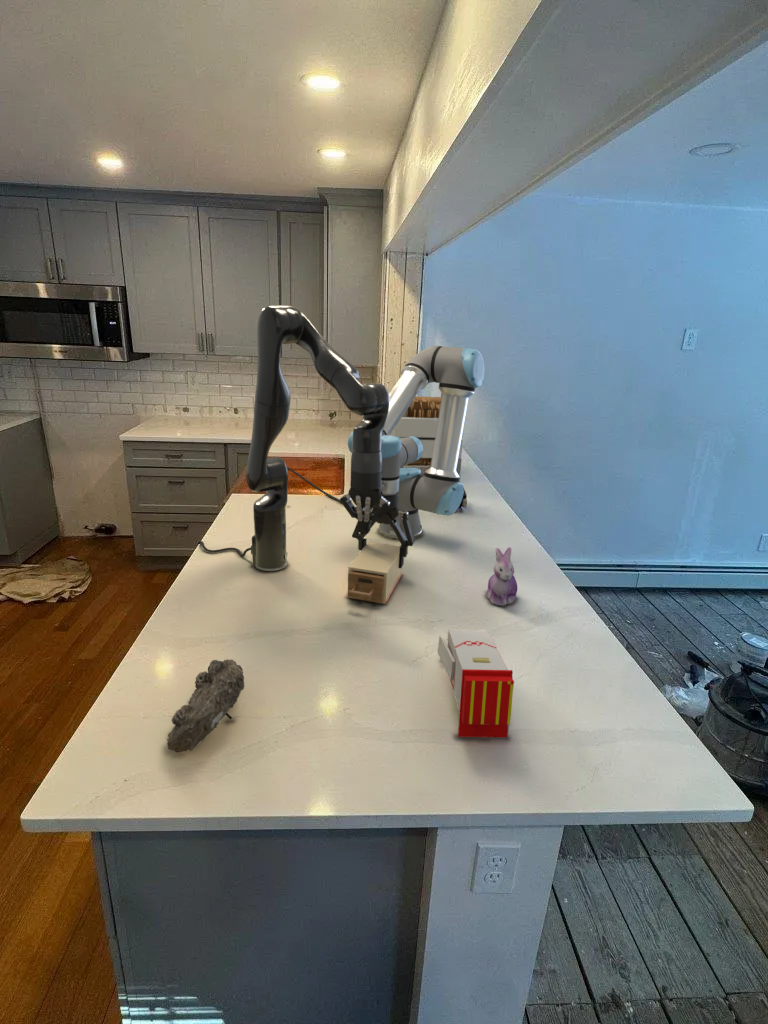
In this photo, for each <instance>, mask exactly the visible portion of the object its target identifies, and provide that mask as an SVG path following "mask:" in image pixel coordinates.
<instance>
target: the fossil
mask: <svg viewBox="0 0 768 1024" xmlns="http://www.w3.org/2000/svg"><path fill="white" fill-rule="evenodd" d="M243 670H244V669H243V667H242V665H240V664H237V662H236V661H235V660H234V659H232V658H231V659H227V658H226V659H224V660H223V661H222V660H217V659H212V660H211V661H210V663H209V665H208V666H207V671H201V672H199V673H198V674H197V675H196V676H195V680H194V684H195V685H194V687H195V689H194V690H193V693H192V694H191V697H190V698H189V700H188V704H184V705H182V706H181V707H180V709H177V710H176V711H175V713H174V715H173V716H172V718H171V723H172V724H173V727H172V730H171V731H170V732H168V734H167V738H166V741H167V742H166V745H167V749H168V750H169V751H173V752H174V753H176V754H178V753H182V752H188V751H189V752H192V751H193V750H195V748H196V747H197V746H199V744H200V743H201V742H203V741H204V740H205V739H206V738H207V737H208V736H209V735H210V734H211V733H212V732H214V730H215V729H217V727H218V726H219V724H220V722H221V721H222V720H223V719H224V718H225V716H226V717H227V719H229V720H233V717H232V715H230V714H229V710H230V709H231V708H234V706H235V704H236V703H237V702H238V699H239V697H240V695H241V693H242V691H243V690H245V689H244V688H245V675H244V671H243Z"/></svg>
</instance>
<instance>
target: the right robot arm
mask: <svg viewBox="0 0 768 1024" xmlns="http://www.w3.org/2000/svg"><path fill="white" fill-rule="evenodd" d="M485 371H486V370H485V361H484V358H483V355H482V353H481V352H480V351H479V350H477V349H474V348H468V347H456V346H441V345H433V346H429V347H426V348H424V349H422V350H421V351H419V352H418V353H416V354H415V355H414V356H412V357H411V358H410V359H408V361H407V362H406V363H405V364H404V366H403V368H402V369H401V371H400V377H399V379H398V380H397V381H396V383H395V384H394V386H393V387H392V388H391V390H390V391H389V392H388V393H389V397H390V406H389V411H388V415H387V419H386V423H385V426H384V429H383V432H382V478H381V491H382V493H383V497H384V498H385V499H386V500H389V501H390V502H391V503H390V505H389V506H388V507H387V508H386V509H385V510H384V512H383V513H382V514H381V515H380V516H379V517H378V518H377V519H376V520H375V521H373V520H372V521H371V527H370V530H372V528H373V527H374V525H375V524H376V523H377V524H379V525H378V533H379V534H380V535H381V536H382V537H385V538H387V539H389V540H395V541H399V542H400V544H401V545H400V554H399V568H402V569H403V567H404V561H405V558H407V556H408V553H409V547H413V546H414V544H415V542H416V540H415V539H418V538H420V537H421V536H422V535H423V525H422V524H421V518H420V515H419V510H420V511H424V512H429V513H432V514H436V515H437V516H439V515H441V516H445V517H448V516H449V517H450V516H452V515H453V514H454V513H456V511H457V510H458V507H459V505H460V503H461V501H462V498H463V494H464V490H465V487H464V484H463V483H462V482H461V481H460V482H459V478H460V479H461V475H460V476H459V475H458V473H457V471H456V468H457V463H458V457H459V451H460V445H461V440H462V439H463V438H462V434H463V435H464V432H463V428H464V429H465V421H466V415H467V410H468V404H469V399H470V397H472V396H473V395H474V394H475V390H476V389H478V388H480V387H481V386H482V385H483V382H484V379H485ZM430 383H436V384H438V390H439V391H440V393H442V399H441V406H440V412H439V418H438V424H437V430H436V436H435V442H434V448H433V455H432V461H431V465H430V466H429V468H427V469H426V470H424V475H423V474H422V470H421V468H419V467H412V466H411V467H408V466H407V465H408V464H411V463H414V462H415V461H417V460H418V459H420V458H421V456H422V454H423V445H422V443H421V441H420V440H419V439H418V438H416V437H413V436H410V437H408V436H407V437H405V438H400V437H396V436H389V435H390V434H391V432H392V431H393V429H394V428H395V426H396V425H397V423H398V422H399V421H400V419H401V418H402V416H403V415H404V413H405V412H406V410H407V409H408V407H409V406H410V404H411V403H412V401H413V400H414V398H415V397H417V395H418V394H419V392H420V391H422V390H424V389H426V388H427V386H428V385H429V384H430ZM352 443H353V431H352V432H351V433H350V434H349V436H348V439H347V447H348V450H349V452H350V453H351V454H352ZM402 466H404V468H400V467H402ZM405 466H406V467H405ZM287 470H288V471H290V472H291V473H292V474H294V475H296V476H297V477H299V478H300V479H301V480H303V481H304V482H306V483H307V484H309V485H310V486H311V487H313V488H314V489H315V490H317V491H319V492H320V493H322V494H323V495H325V496H327V497H329V498H331V499H332V500H334V501H336V502H338V503H340V504H342V502H341V501H340V498H337V497H335V496H334V495H332V494H330V493H327V492H326V491H324V490H323V489H321V488H320V487H318V486H317V485H315V484H314V483H312V482H311V481H310V480H308V479H306V478H305V477H304V476H303V475H301V474H300V473H298V472H296V471H295V470H294V469H292V468H290V467H288V466H287ZM379 504H380V500H379V502H378V503H377V504H376V505H375V506H374V507H373V511H372V514H375V513H376V512H377V510H378V509H379V508H380V506H379ZM355 508H356V509H357V506H355ZM351 537H352V538H353V539H356V540H357V549H358V551H359V552H361V550H362V549H363V548H364V546H365V545H366V544H367V543H368V541H367V540H368V538H365V537H366V536H365V535H360V532H358V521H356V525H355V527H354V530H353V532H352V535H351Z"/></svg>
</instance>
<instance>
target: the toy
mask: <svg viewBox="0 0 768 1024" xmlns="http://www.w3.org/2000/svg"><path fill="white" fill-rule="evenodd" d="M446 640H447V643H446V641H445V639H444V636H443V635H442V634H439V637H438V646H437V656H438V657H439V659H440V661H441V663H442V666H443V668H444V670H445V672H446V674H447V677H448V679H449V681H450V684H451V687H452V690H453V693H454V697H455V701H456V705H457V708H458V711H459V714H458V715H459V716H458V730H457V731H458V732H457V737H458V738H508V731H509V726H510V725H511V717H512V707H513V697H514V696H513V695H514V684H515V680H514V679H513V673H514V671H513V670H512V669H508V667H507V665H506V662H505V661H504V659H503V658H502V655H501V653H500V651H499V649H498V647H497V643H496V639H495V637H494V635H493V634H491V632H490V631H489V629H467V628H466V629H465V628H463V629H461V628H460V629H459V628H448V630H447V639H446Z"/></svg>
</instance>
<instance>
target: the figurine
mask: <svg viewBox="0 0 768 1024" xmlns="http://www.w3.org/2000/svg"><path fill="white" fill-rule="evenodd" d="M511 557H512V547H511V546H509V547H507V548H506V550H505V552H504V553H503V552H502V551H501V549H500V548H499V547H496V548H495V560H496V561H495V565H494V567H493V572H494V573H493V574H492V575H491V576H490V577H489V578H488V581H487V582H488V583H487V592H486V596H487V598H488V600H489V601H490V603H491V604H493V605H496V606H506V605H508V604H512V603H513V602H514V601H515V600H516V596H517V593H518V583H517V579H516V578H515V575H514V573H515V567H514V565H513V563H512V560H511Z"/></svg>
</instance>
